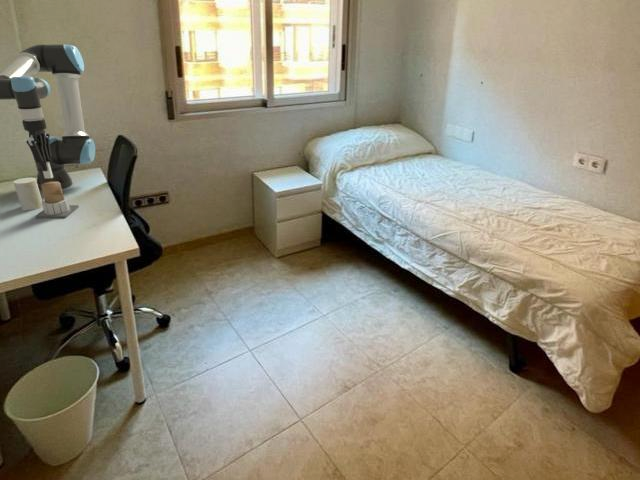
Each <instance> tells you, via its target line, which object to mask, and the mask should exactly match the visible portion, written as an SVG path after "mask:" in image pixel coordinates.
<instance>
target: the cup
mask: <svg viewBox="0 0 640 480" xmlns="http://www.w3.org/2000/svg"><path fill="white" fill-rule="evenodd" d="M13 185H14V188H15V192H16V195H17V198H18V202H19V205H20V208H21V210H22V211H35V210H38V209H41V208H43V206H42V201H43V199H42V196H41V192H40V189H39V188H38V184H37V177H23V178H22V177H21V178H17V179H15V180H13Z"/></svg>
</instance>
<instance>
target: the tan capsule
mask: <svg viewBox="0 0 640 480" xmlns="http://www.w3.org/2000/svg"><path fill="white" fill-rule="evenodd" d="M41 188H42V190H41V192H42V195H43V198H44V199H45V202H46V203H57V202H61V201H63V200H64V197H65V196H64V193H63V188H61V184H60V182H47V183H44V184H42V185H41ZM44 199H43V200H44Z"/></svg>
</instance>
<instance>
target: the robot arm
mask: <svg viewBox="0 0 640 480" xmlns="http://www.w3.org/2000/svg"><path fill="white" fill-rule="evenodd" d="M84 71H85V63H84V59H83V56H82V54H81V53H80V50H79V49H78V47H76V46H74V45H71V44H35V45H32V46H29V47H27V48H25V49H23V50H21V51H20V52H19V53H18V54H16V56H15V58H14V61H13V62H12V63H11V64H9V66H7V67H6V68H5V69H3V71H1V73H0V100H1V101H4V100H15V101H16V105H17V108H18V113H19V115H20V118H21V119H22V121H21V123H22V126H23V129H24V131H25V132H26V131H27V132H28V136H29V139H28V140H26V145H27V146H28V148H30V151H31V153H32V157H33V161H34V163H35V167H36V170H37V177H36V181H37V184H38V188H39V191H40V190H41V191H42V188H41V185H42V184H44V183H47V182H60V184H61V188H62V189H64V188H68V187H70V186H72V185H73V180H72V178H71V175H70V174H69V173H68V171H67V170H66V167H65V165H86V164H88V165H89V164H91V163H92V162H93V161H95V160H94V159H95V156H96V144H95V141H94V140H93V139H92V138H90V134H88V133H87V132H86V130H85V129H86V128H85V122H84V121H85V120H84V115H83V108H82V101H81V95H80V94H81V93H80V88H79V87H80V85H79V79H80V78H81V77H82V75H81V73H83V72H84ZM45 72H46V73H52V76H53V77H54V78H55V79H56V83H57V89H58V96H59V102H60V109H61V115H62V123H63V127H64V133H63V134H62V135H61V139H59V138H58V137H57V136H53V135H52V136H50V134H49V133H46V131H45V130H46V129H47V128H48V127H47V124H46V119H44V118H45V116H44V112H43V108H42V105H41V101H40V100H41V99H45V98H46V97H47V96H49V95H50V93H51V86H50V84H49V83H48V82H47V81H46V80H45V79H43V78H41V77H38V78H37V77H33V76H32V75H36V74H38V73H45Z"/></svg>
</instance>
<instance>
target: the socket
mask: <svg viewBox="0 0 640 480" xmlns="http://www.w3.org/2000/svg"><path fill="white" fill-rule="evenodd" d="M42 206H43V207H42V210H41V211H40V212H38V213H37V214H36V215H35V219H67V218H68V217H69V216H70V215H72V214H73V213H74V212H75V211H76V210H77V209H79V208H80V206H79V204H70V202H69V199H68V197H67V196H64V200H63V201H61V202H57V203H46V202H45V199H42Z"/></svg>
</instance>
